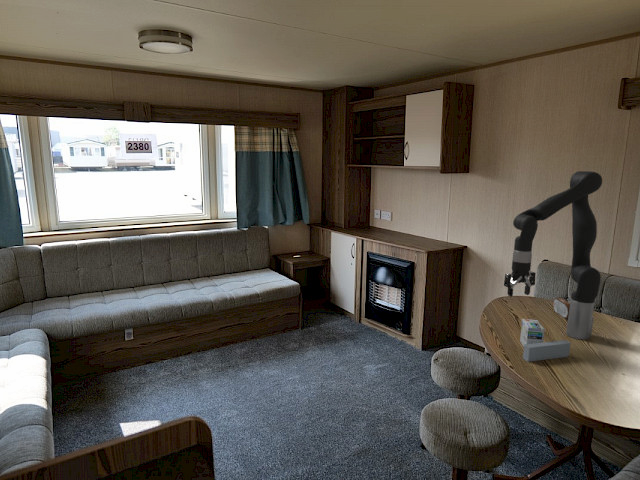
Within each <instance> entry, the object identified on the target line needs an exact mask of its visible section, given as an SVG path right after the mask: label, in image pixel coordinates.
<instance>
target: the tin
mask: <svg viewBox="0 0 640 480" xmlns="http://www.w3.org/2000/svg"><path fill="white" fill-rule="evenodd" d="M552 303H553V306H552V309H553V310H554V313H556V314H557V315H559V316H560V317H562V318H563V319H567V320H568V316H569V309H570V301H567V300H566V299H564V298H562V297H555V298H554V299H553V302H552Z"/></svg>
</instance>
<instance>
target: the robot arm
mask: <svg viewBox="0 0 640 480" xmlns="http://www.w3.org/2000/svg"><path fill="white" fill-rule="evenodd" d="M602 184H603V177H602V176H601V174H600V173H599V172H596V171H588V170H586V171H580V170H579V171H576V172H574V173H573V174H572V175H571V177H570V181H569V188H568V189H566V190H563V191H560V192H559V193H557V194H555V195H551V196H550V197H547V198H546V199H544V200H543V201H541V202H539V203H538V204H536V206H534V207H531V208H528V209H526V210H524V211H522V212H520V213H519V214H517V215H516V216H515V217H514V219H513V222H512V224H513V227H514V228H515V229H516V230H519V231H520V235H518V236H516V237H515V239H514V247H513V253H512V259H511V260H512V262H511V273H508V272H506V273H505V274H504V282H503V286H504V287H506V288H507V292H506V294H507V296H508V297H511V298H512V297H513V294H514V287H515V286H517V284H520V283H523V284H524V285H525V286H524V295H526V296H528V295H530V292H531V287H532V286H535V285H536V272H534V271H531V267H532V259H533V257H532V256H533V255H532V250H533V241H534V239H535V236H536V234H537V231H538V228H539V225H538V223H539V221H545V220H547V219H548V218H550V217H552V216H553V215H555V214H556V213H557V212H559V211H560V210H563V209H564V208H565V207H567V206H569V205H571V211H572V212H571V213H572V214H571V215H572V224H571V225H572V226H571V227H572V230H571V231H572V235H571V236H572V259H571V268H570V269H571V270H570V277H571V279H572V280H573V281H574V282H575V283H577V285H576V290H575V291H572V292H571V295H570V301H569V303H570V309H569V316H568V319H567V325H566V331H565V334H566V335H567V336H568V337H569V338H570V337H571V338H573V339H577V340H588V339H590V338H592V333H593V326H594V317H593V314H594V308H595V307H594V306H595V301H596V298H597V297H598V294H599V290H600V285H601V281H602V280H601V273H600V271H599V270H598V269H596V268H595V267H592V265H591V252H592V249H593V247H594V245H595V243H596V239H597V236H598V235H597V233H598V231H597V230H598V225H597V223H598V222H597V219H596V217H595V214H594V213H593V210H592V208H591V205H590V203H589V195H591V194H593V193H595V192H597V191H598V190H600V188H601V187H602Z"/></svg>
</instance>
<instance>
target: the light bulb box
mask: <svg viewBox="0 0 640 480" xmlns="http://www.w3.org/2000/svg"><path fill="white" fill-rule="evenodd" d="M545 331H546V330H545V327H543V325H542V324H541V323H540V321H539V320H538V319H528V318H522V319H521V330H520V339H519V342H520V344H521V345H522V347H523V348H524V345H525V344H534V343H543V342H544V340H545V339H544V337H545Z"/></svg>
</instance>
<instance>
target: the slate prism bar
mask: <svg viewBox="0 0 640 480" xmlns="http://www.w3.org/2000/svg"><path fill="white" fill-rule="evenodd" d="M570 349H571V342H570V341H568V340H566V339H561V340H553V341H545V342H544V341H543V343H534V344H525V345H524V347H523V354H522V359H523V360H525V361H526V362H527V363H528V362H536V361H544V360H551V359H552V360H553V359H559V358H567V357H569V356H570V351H571V350H570Z"/></svg>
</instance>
